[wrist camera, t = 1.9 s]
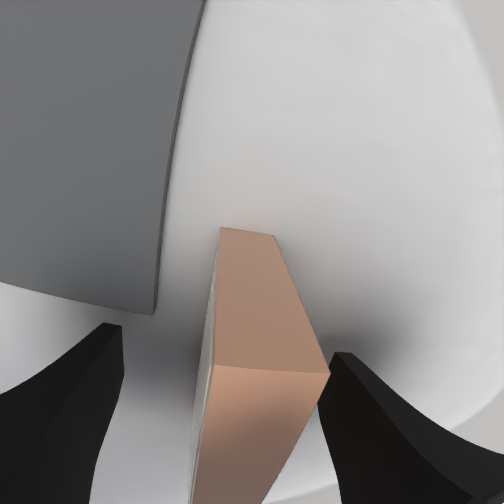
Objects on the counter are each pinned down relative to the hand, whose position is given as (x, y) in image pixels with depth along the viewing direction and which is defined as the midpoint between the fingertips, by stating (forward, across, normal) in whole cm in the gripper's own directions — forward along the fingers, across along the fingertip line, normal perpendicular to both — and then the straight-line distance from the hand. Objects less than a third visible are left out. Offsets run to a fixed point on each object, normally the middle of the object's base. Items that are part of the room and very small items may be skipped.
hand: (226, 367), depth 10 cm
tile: (+2, 0, 0) cm, 2 cm away
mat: (+1, +8, -8) cm, 11 cm away
